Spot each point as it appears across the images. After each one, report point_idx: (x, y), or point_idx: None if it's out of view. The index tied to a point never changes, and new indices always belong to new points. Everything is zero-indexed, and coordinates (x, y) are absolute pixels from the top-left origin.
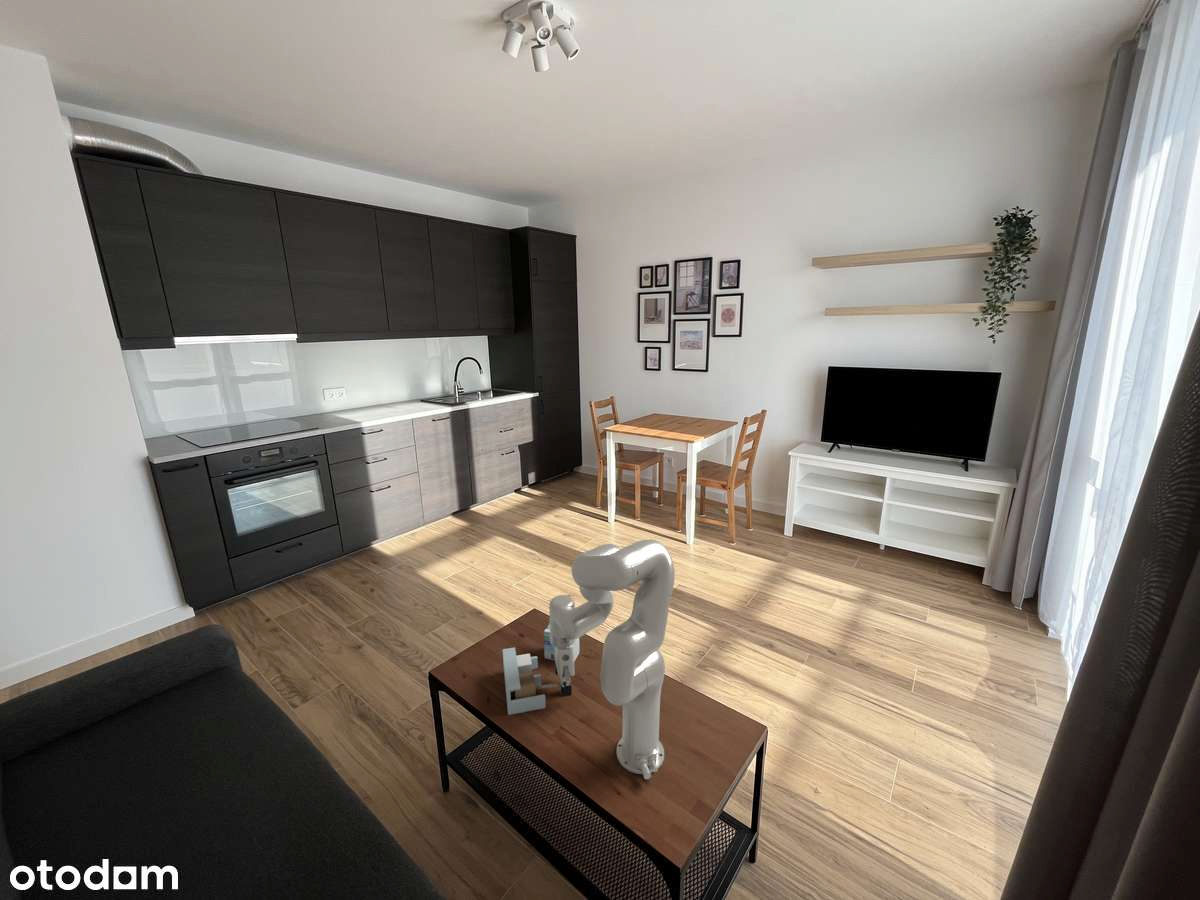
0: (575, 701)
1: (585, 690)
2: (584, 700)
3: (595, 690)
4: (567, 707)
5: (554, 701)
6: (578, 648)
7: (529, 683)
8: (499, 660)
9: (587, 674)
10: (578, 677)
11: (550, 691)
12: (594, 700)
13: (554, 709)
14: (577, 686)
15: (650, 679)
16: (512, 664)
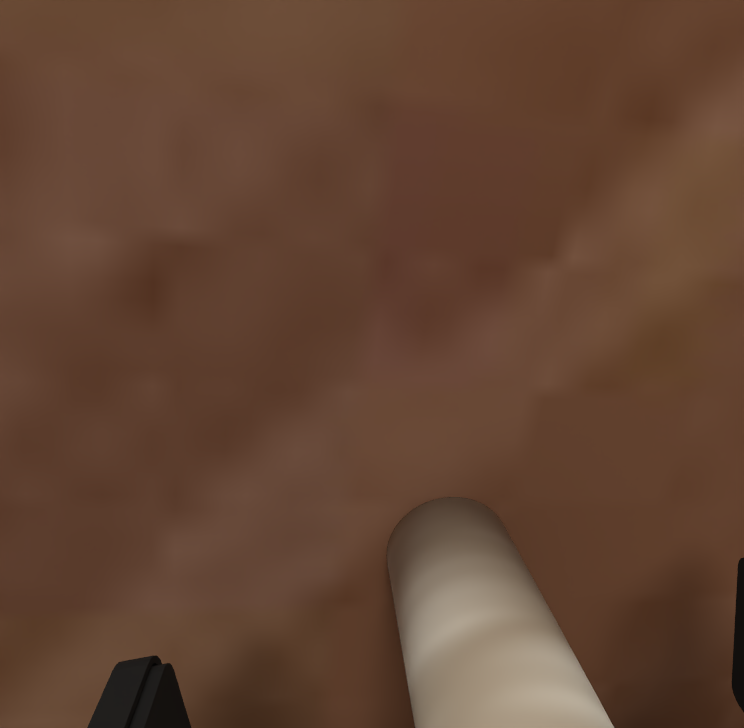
0: (649, 402)
1: (445, 230)
2: (664, 264)
3: (474, 34)
4: (728, 509)
5: (581, 660)
6: None
7: None
8: None
9: (13, 153)
10: (106, 333)
11: (393, 712)
12: (709, 87)
13: (713, 653)
14: (333, 360)
15: None
16: None
